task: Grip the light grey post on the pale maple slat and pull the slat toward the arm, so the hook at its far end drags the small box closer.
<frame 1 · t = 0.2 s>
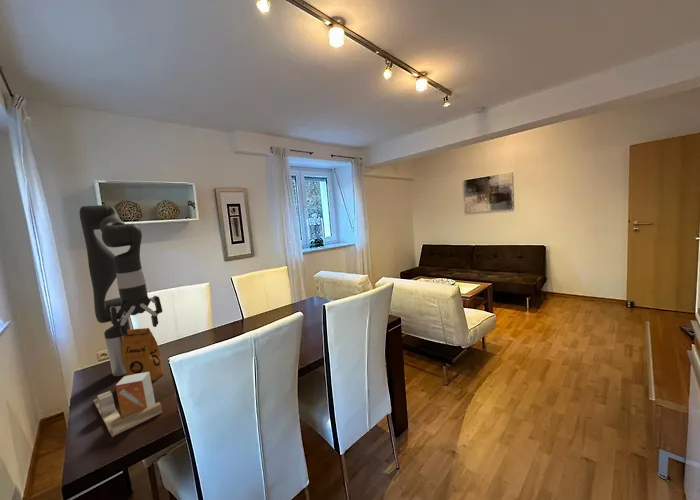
hand: (140, 330, 105), 28 cm above the table, tool pointing down, fingers open, 8 cm apart
hooked slat: (124, 398, 110), point 4 cm above the table, slide at 0.0 cm
small box: (139, 413, 106), on the table
coffee package: (147, 378, 130), on the table
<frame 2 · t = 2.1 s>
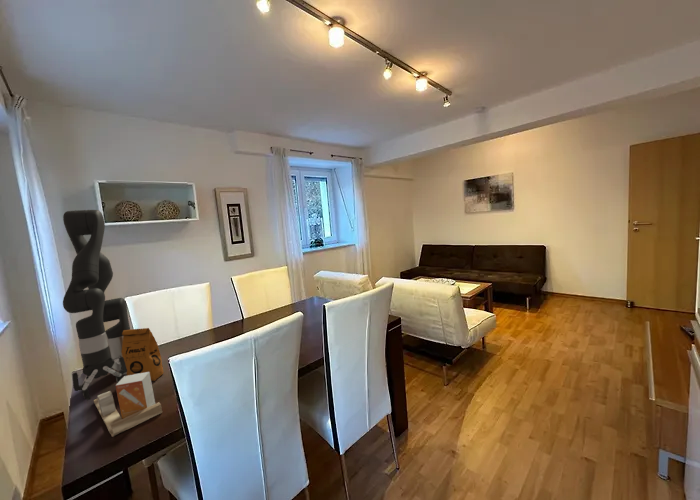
hand: (104, 392, 106), 8 cm above the table, tool pointing down, fingers open, 8 cm apart
nothing on the table moved.
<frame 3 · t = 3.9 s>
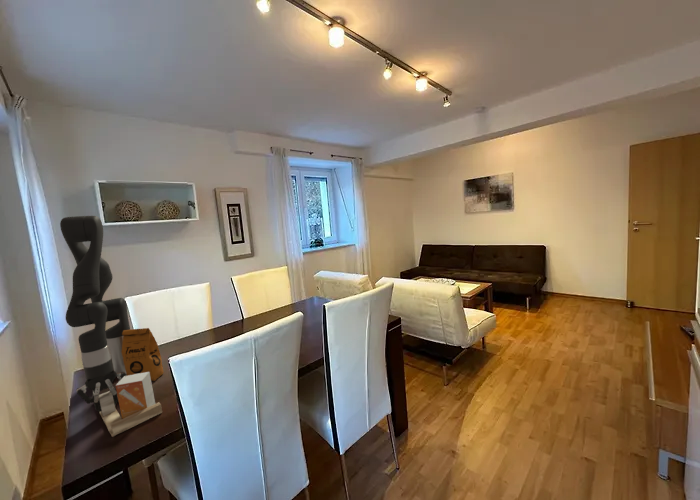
hand: (107, 407, 107), 3 cm above the table, tool pointing down, fingers closed on hooked slat, 3 cm apart
hooked slat: (124, 398, 110), point 4 cm above the table, slide at 0.0 cm, touching gripper
everything else where it was.
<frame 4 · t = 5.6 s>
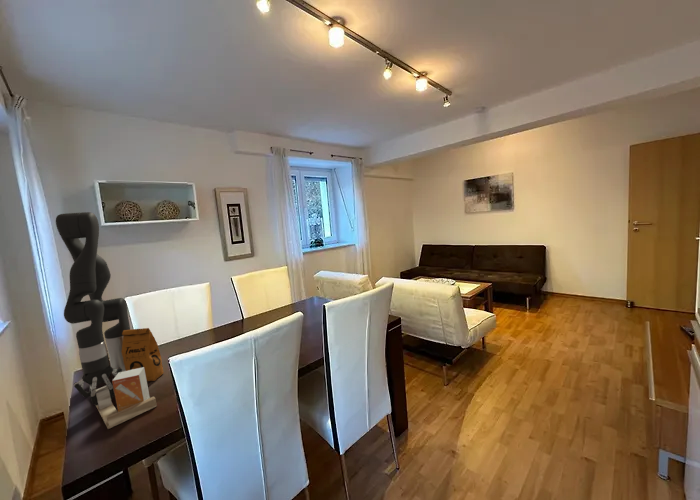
hand: (103, 401, 111), 3 cm above the table, tool pointing down, fingers closed on hooked slat, 3 cm apart
hooked slat: (120, 392, 114), point 4 cm above the table, slide at 5.9 cm, touching gripper
small box: (135, 408, 110), on the table
everything else where it was.
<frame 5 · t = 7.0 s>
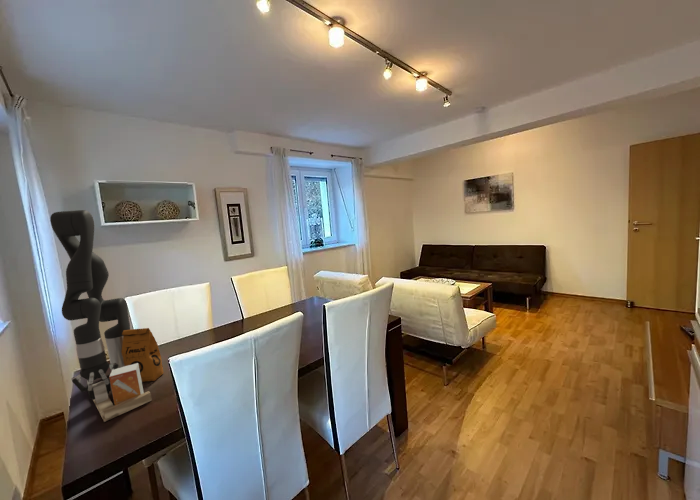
hand: (100, 395, 115), 3 cm above the table, tool pointing down, fingers closed on hooked slat, 3 cm apart
hooked slat: (117, 387, 118), point 4 cm above the table, slide at 11.7 cm, touching gripper
small box: (130, 403, 113), on the table
everything else where it was.
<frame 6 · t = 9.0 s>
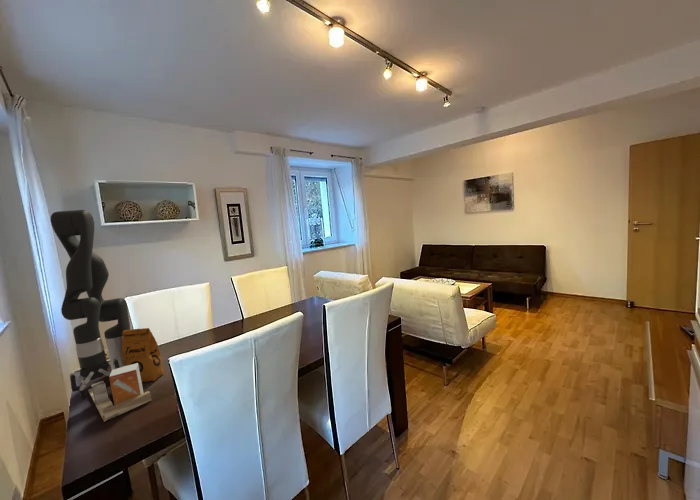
hand: (100, 392, 115), 4 cm above the table, tool pointing down, fingers open, 8 cm apart
hooked slat: (117, 387, 118), point 4 cm above the table, slide at 11.8 cm
everything else where it was.
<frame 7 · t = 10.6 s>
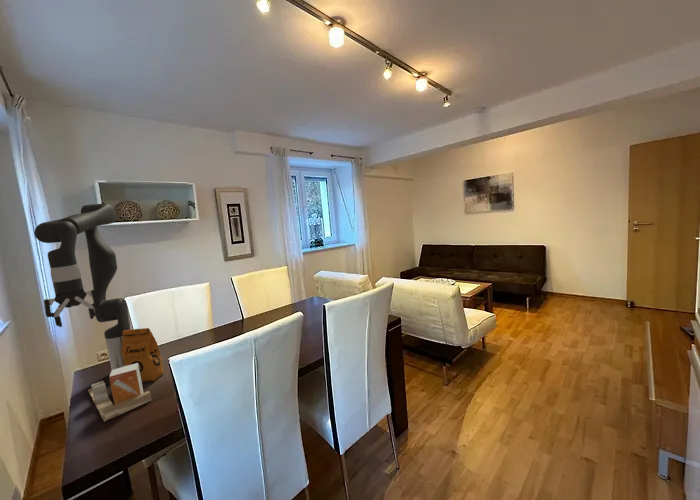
hand: (76, 322, 111), 32 cm above the table, tool pointing down, fingers open, 8 cm apart
nothing on the table moved.
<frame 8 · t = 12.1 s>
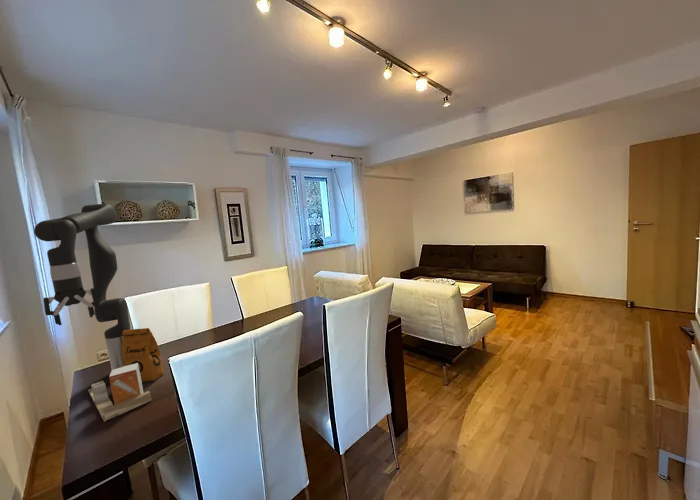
hand: (76, 320, 111), 32 cm above the table, tool pointing down, fingers open, 8 cm apart
nothing on the table moved.
at the end: small box inside the target area (1.9 cm from its centre), on the table; small box tilted 0°; hooked slat slide at 11.8 cm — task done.
